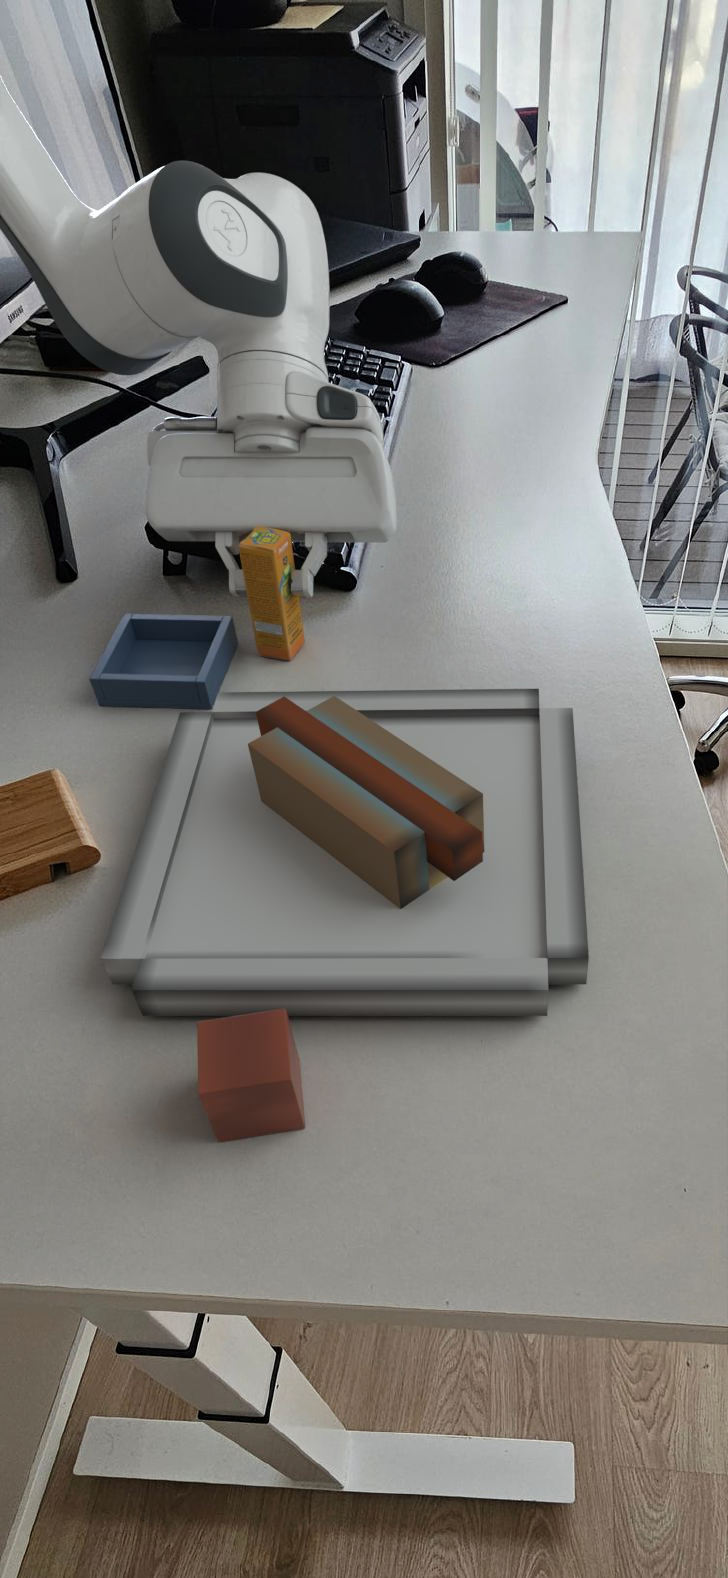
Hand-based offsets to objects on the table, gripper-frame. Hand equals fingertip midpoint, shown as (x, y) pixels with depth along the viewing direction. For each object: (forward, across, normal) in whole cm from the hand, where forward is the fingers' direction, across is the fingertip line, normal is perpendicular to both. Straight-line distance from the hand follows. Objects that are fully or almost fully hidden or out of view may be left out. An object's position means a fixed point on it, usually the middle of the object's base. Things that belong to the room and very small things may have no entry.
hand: (271, 595), depth 85 cm
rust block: (+36, +7, -28) cm, 46 cm away
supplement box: (+4, 0, +4) cm, 6 cm away
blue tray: (+6, -9, +2) cm, 11 cm away
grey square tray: (+21, +10, -13) cm, 27 cm away
